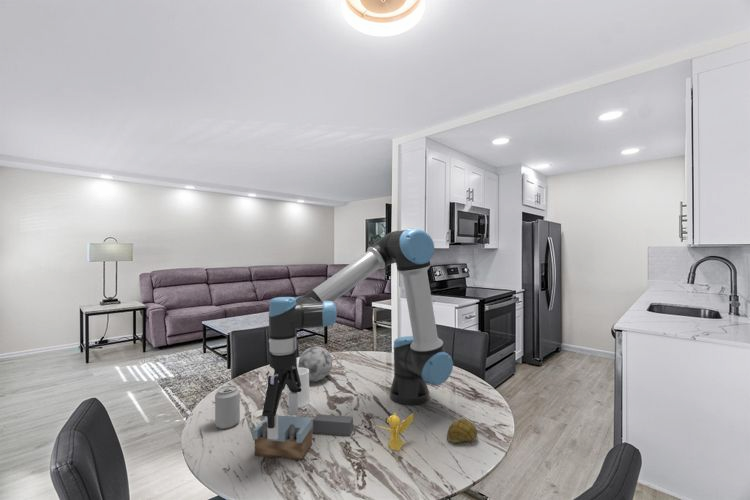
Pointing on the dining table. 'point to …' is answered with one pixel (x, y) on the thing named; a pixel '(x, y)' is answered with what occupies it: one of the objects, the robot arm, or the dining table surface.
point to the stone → (316, 362)
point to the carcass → (283, 445)
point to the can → (227, 407)
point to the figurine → (397, 430)
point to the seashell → (461, 431)
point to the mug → (302, 388)
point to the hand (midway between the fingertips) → (283, 425)
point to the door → (287, 428)
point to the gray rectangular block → (333, 424)
